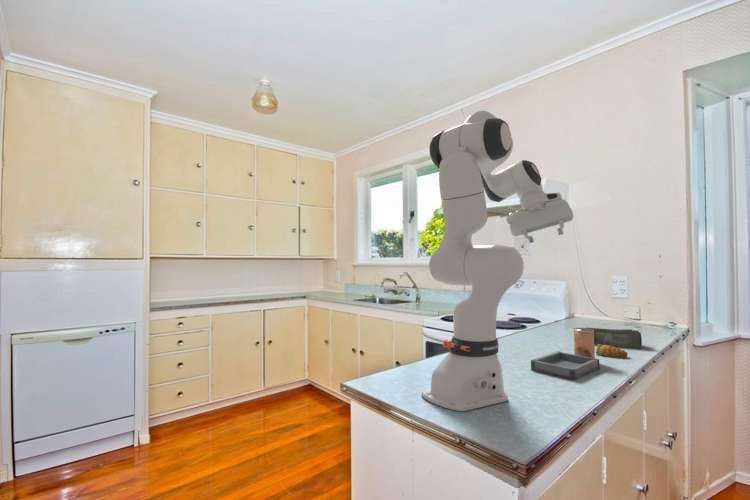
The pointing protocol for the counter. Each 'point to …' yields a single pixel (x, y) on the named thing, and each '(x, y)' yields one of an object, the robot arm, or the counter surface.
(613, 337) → the beverage carton
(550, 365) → the tray
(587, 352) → the tin can
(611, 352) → the pastry
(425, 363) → the counter surface
